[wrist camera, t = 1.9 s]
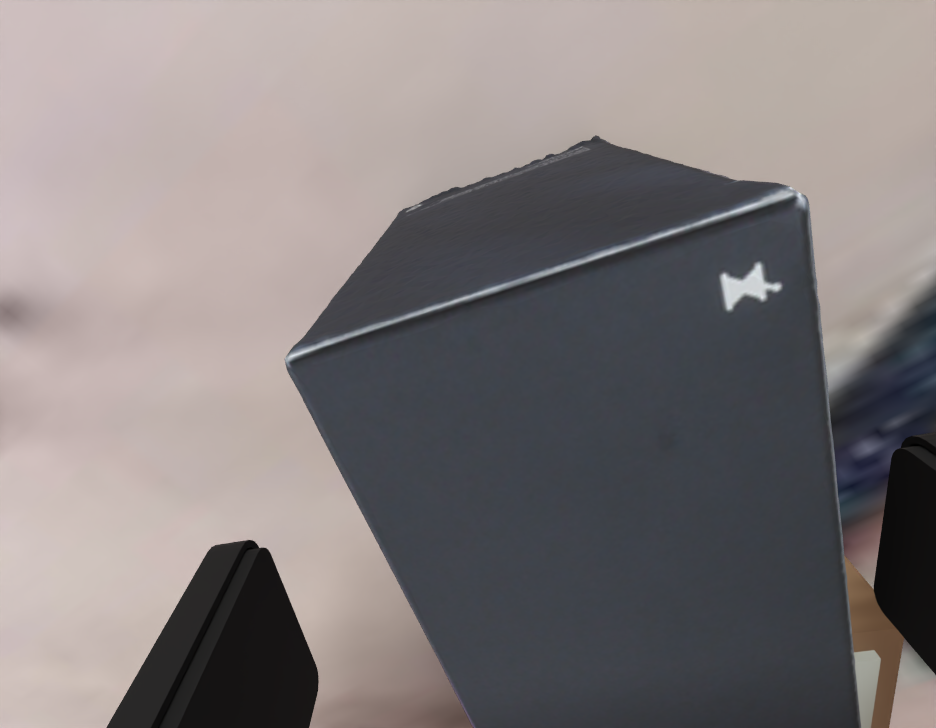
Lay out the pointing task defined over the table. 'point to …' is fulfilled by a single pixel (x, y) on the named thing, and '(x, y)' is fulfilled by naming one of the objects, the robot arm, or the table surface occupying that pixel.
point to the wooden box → (872, 652)
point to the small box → (600, 444)
